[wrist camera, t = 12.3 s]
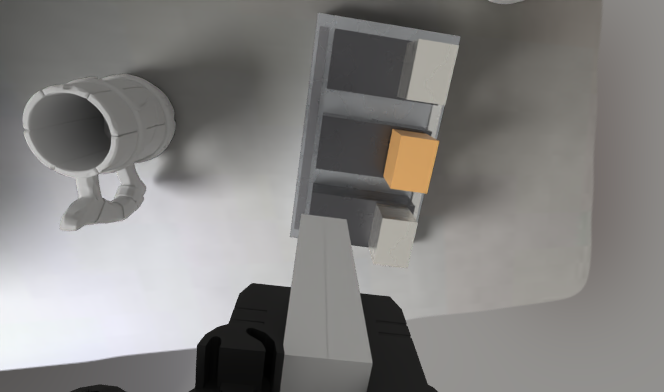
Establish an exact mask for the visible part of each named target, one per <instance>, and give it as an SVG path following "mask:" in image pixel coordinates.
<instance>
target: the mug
mask: <svg viewBox="0 0 664 392" xmlns="http://www.w3.org/2000/svg"><path fill="white" fill-rule="evenodd" d="M23 127H24V129H26V130H25V131H24V137H25V139H26V142H27V144H28V146H29V148H30V149H31V151H32V152H33V154H34V155H35V156H36V157H37V158H38V160H39V161H40V162H42V163H43V164H44V165H45V166H47V167H48V168H50V169H52V170H54V169H55V172H57V173H59V174H62V175H64V176H68V177H73V178H75V179H76V186H77V192H78V196H79V197H78V200H76V201H74V202H73V203H72V204H71V205H70V206H69V208H68V209H67V211H66V212H65V213H64V215H63V216H62V219H61V222H60V230H62V231H76V230H78V229H80V228H81V227H83V226H84V225H92V224H98V223H111V222H117V221H123V220H125V219H126V218H128V217H129V216H130V215H131V214H132V213H133V212H134V211H136V210H137V209H138V208H139V207H140V205H141V204H142V202H143V200H144V197H143V195H144V194H145V192H146V186H145V184H144V183H143V182H142V181H141V180H140V178H139V176H138V174H137V172H136V169H135V165H134V163H141V162H145V161H148V160H151V159H153V158H155V157H157V156H158V155H160V154H161V153H162V152H163V151H164V150H165V149H166V148H167V147H168V145H169V143H170V142H171V140H172V138H173V136H174V133H175V127H176V121H174V109H173V107H172V105H171V103H170V101H169V99H168V98H167V96H166V95H165V94H164V93H163V92H162V91H161V90H160V89H159V88H158V87H155V86H154V85H153V84H152V83H150V82H148V81H146V80H144V79H142V78H140V77H137V76H133V75H130V74H119V75H111V76H107V77H104V78H102V79H98V78H97V77H93V76H91V77H86V78H81V79H75V80H72V81H70V82H68V83H66V84H59V85H53V86H48V87H46V88H44V89H43V90H40V91H38V92H36V93H35V94H34V95H33V96H32V97H31V98H30V99H29V101H28V102H27V104H26V106H25V109H24V112H23ZM112 172H116V173H117V176H118V178H119V180H120V183H121V186H119V187H118V189H117V193H116V195H115V197H114V200H112V201H107V200H105V199H104V198H102V196H101V192H100V187H99V180H98V174H107V173H112Z"/></svg>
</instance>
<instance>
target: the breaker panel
mask: <svg viewBox="0 0 664 392" xmlns="http://www.w3.org/2000/svg"><path fill="white" fill-rule="evenodd" d="M460 37H461V36H456V35H450V34H444V33H438V32H432V31H426V30H420V29H414V28H408V27H402V26H396V25H390V24H384V23H378V22H372V21H366V20H360V19H354V18H348V17H342V16H336V15H330V14H324V13H318V17H317V25H316V33H315V41H314V49H313V57H312V65H311V73H310V81H309V89H308V97H307V105H306V113H305V121H304V129H303V137H302V145H301V152H300V160H299V168H298V176H297V184H296V192H295V200H294V208H293V216H292V224H291V232H290V237H294V238H298V234H299V227H300V220H301V214H307V215H315V216H323V217H331V218H339V219H347V225H348V230H349V236H350V241H351V245H354V246H362V247H369V250H370V254H371V257H372V261H373V264H375V265H383V266H391V267H399V268H408V264H409V259H410V255H411V251H412V247H413V242H414V238H415V234H416V229H417V225H418V219H419V214H420V210H421V206H422V201H423V197H424V193H419V192H411V191H404V190H397V189H391V188H390V187H389V185H388V184H387V182H386V180H385V179H384V177H383V175H384V170H385V165H386V160H387V154H388V149H389V144H390V139H391V134H392V129H397V130H404V131H411V132H418V133H424V134H428V135H429V136H431V137H433V138H435V139H437V136H438V132H439V128H440V124H441V119H442V115H443V111H444V106H445V104H446V100H447V96H448V91H449V87H450V83H451V78H452V74H453V70H454V65H455V61H456V57H457V52H458V48H459V41H460Z"/></svg>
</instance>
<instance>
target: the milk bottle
mask: <svg viewBox="0 0 664 392" xmlns="http://www.w3.org/2000/svg"><path fill="white" fill-rule="evenodd" d="M488 1H490V2H493V3H497V4H513V3H517V2H520V1H524V0H488Z"/></svg>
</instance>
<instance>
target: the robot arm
mask: <svg viewBox="0 0 664 392" xmlns="http://www.w3.org/2000/svg"><path fill="white" fill-rule="evenodd" d="M410 336H411V335H410V332H409V329H408V327H407V326H406V320H405V318H404V315H403V312H402V309H401V308H400V307H399V306H398V305H397V304H396V303H395V302H394V301H393V300H392V299H391V298H390V297H389V296H379V295H370V294H361V293H360V291H359V285H358V280H357V274H356V269H355V263H354V258H353V252H352V247H351V241H350V236H349V230H348V225H347V219H339V218H331V217H323V216H315V215H307V214H301V220H300V227H299V234H298V242H297V249H296V256H295V263H294V271H293V278H292V285H291V287H283V286H274V285H265V284H256V283H252V284H250V285H249V286H248V287H247V288H246V289H244V290H243V291H242V292H241V293H240V294H239V297H238V299H237V302H236V305H235V308H234V310H233V313H232V316H231V318H230V321H229V324H227V325H223V326H219V327H217V328H215V329H214V330H212V331H210V332H209V333H207V334H205V336H204V337H203V338H202V339H201V341H200V342H199V343H198V345H197V360H196V384H195V388H194V389H192V390H191V391H189V392H437V390H435V389H434V388H433V387H431V386H429V385H428V384H427V381H426V378H425V375H424V372H423V369H422V367H421V364H420V361H419V358H418V355H417V352H416V349H415V346H414V344H413V341H412V338H410ZM71 392H125V391H124V390H122V389H121V388H119V387H116V386H108V385H94V386H88V387H82V388H78V389H76V390H73V391H71Z"/></svg>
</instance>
